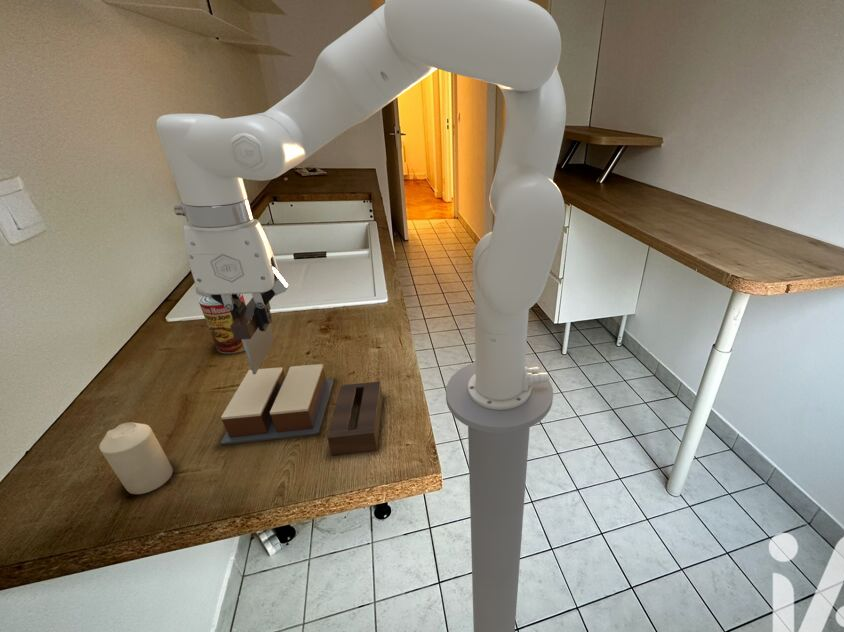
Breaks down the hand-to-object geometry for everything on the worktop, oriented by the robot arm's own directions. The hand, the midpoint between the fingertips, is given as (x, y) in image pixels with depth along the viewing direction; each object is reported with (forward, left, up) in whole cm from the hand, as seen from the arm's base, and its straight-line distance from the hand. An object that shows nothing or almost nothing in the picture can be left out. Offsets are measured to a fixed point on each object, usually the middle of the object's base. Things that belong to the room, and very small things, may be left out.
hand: (255, 326), depth 66 cm
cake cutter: (0, 0, -6) cm, 6 cm away
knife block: (-14, +6, -18) cm, 23 cm away
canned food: (+16, -25, -18) cm, 35 cm away
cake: (0, 0, -18) cm, 18 cm away
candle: (+15, +13, -18) cm, 27 cm away
